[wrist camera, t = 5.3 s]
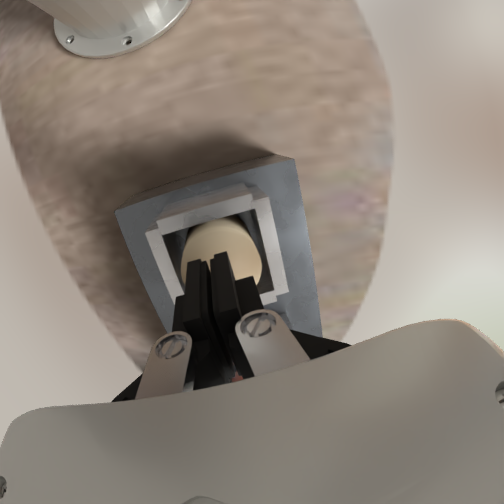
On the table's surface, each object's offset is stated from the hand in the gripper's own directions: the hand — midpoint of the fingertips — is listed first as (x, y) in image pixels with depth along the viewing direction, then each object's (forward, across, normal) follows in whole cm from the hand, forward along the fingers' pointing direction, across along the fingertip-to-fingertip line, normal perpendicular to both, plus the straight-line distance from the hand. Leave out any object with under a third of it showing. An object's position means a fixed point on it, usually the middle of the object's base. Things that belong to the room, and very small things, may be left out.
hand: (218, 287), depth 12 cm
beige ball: (+7, 0, +1) cm, 7 cm away
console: (+12, 0, +6) cm, 13 cm away
